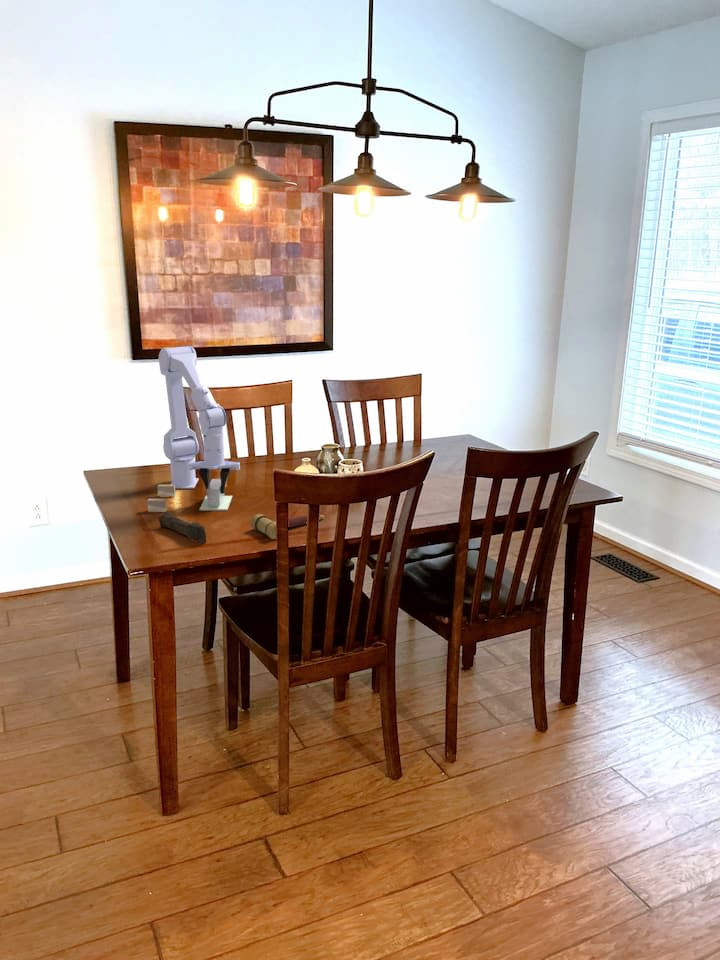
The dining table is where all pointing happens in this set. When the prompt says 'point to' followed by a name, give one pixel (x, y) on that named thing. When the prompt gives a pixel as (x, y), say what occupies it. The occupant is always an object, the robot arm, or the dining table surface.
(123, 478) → the dining table surface
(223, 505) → the mat
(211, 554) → the dining table surface
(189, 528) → the hand tool
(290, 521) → the gavel
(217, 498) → the steel bar
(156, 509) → the blocks
